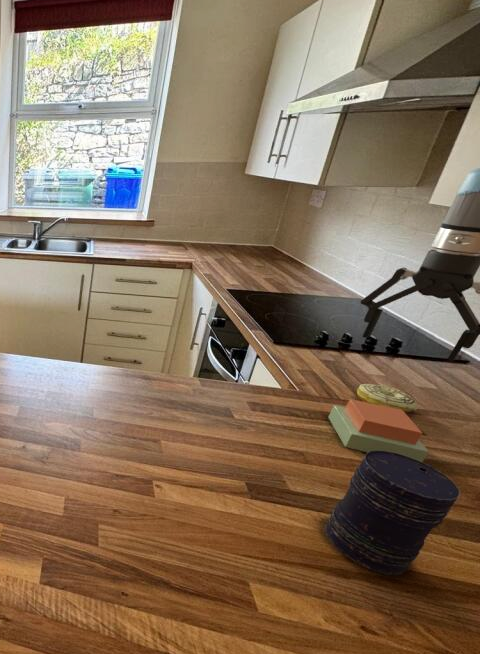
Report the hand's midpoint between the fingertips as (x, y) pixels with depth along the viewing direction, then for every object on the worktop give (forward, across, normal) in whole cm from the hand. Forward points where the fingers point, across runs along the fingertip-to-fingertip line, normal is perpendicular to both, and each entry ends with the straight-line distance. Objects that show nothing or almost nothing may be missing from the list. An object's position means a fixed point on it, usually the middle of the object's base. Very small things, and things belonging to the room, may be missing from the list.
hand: (405, 347), depth 89 cm
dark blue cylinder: (+18, +12, -48) cm, 53 cm away
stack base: (+18, +3, -12) cm, 22 cm away
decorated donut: (+18, 0, +9) cm, 21 cm away
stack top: (+15, +3, -12) cm, 19 cm away
